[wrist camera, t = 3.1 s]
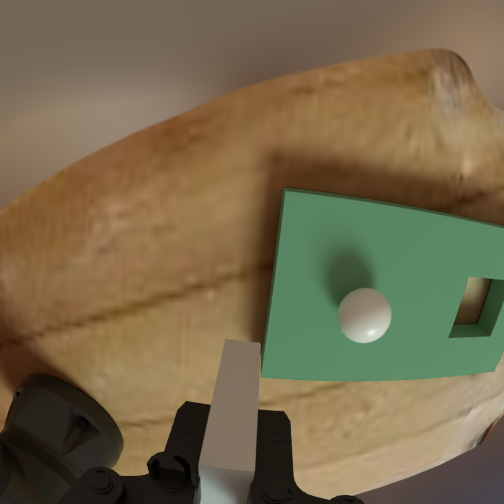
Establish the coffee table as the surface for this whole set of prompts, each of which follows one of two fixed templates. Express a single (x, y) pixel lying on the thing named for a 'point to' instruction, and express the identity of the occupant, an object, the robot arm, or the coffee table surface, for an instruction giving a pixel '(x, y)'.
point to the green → (380, 290)
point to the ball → (364, 315)
